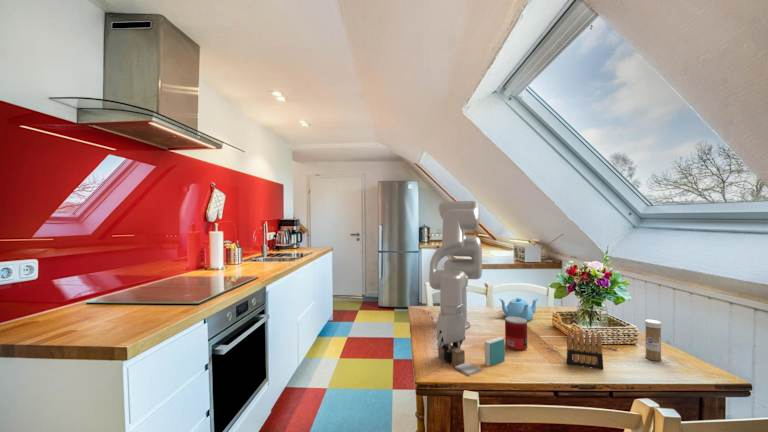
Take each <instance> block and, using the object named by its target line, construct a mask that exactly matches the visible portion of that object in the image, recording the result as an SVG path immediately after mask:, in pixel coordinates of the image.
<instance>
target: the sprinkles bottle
mask: <svg viewBox="0 0 768 432" xmlns="http://www.w3.org/2000/svg"><path fill="white" fill-rule="evenodd" d="M644 325H645V339H644V342H645V343H644V344H645V347H644V348H645V356H644V357H645V358H646V359H648V360H651V361H656V362H660V361H662V334H661V332H662V331H661V330H662V322H661V321H659V320H656V319H655V320H654V319H645V320H644Z"/></svg>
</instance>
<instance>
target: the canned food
mask: <svg viewBox="0 0 768 432" xmlns="http://www.w3.org/2000/svg"><path fill="white" fill-rule="evenodd" d="M504 321H505V322H504V331H505V332H504V333H505V334H504V335H505V337H504V345H505V347H506V348H507V349H509V350H511V351H515V352H523V351H527V348H528V321H527V320H526V319H524V318H521V317H507V316H506V317H505V318H504Z"/></svg>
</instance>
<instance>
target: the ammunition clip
mask: <svg viewBox="0 0 768 432" xmlns="http://www.w3.org/2000/svg"><path fill="white" fill-rule="evenodd" d="M590 336H591V337H590ZM572 338H573V339H572ZM584 338H585V339H584ZM578 339H579V340H578ZM603 359H604V357H603V345H602V335H601V333H600V332H598V333H597V336H595V332H594V331H592V332H591V335H589V332H588V330H587V331H586V332H585V336H584V333H583V331H582V330H580V331H579V338H578V332H577V329H575V330H574V331H573V337H572V332H571V329H568V331H567V339H566V365H568V366H575V367H582V366H584V367H583V368H589V367H592V368H591V369H596V368H598V369H599V370H604V360H603ZM598 369H597V370H598Z"/></svg>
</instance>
